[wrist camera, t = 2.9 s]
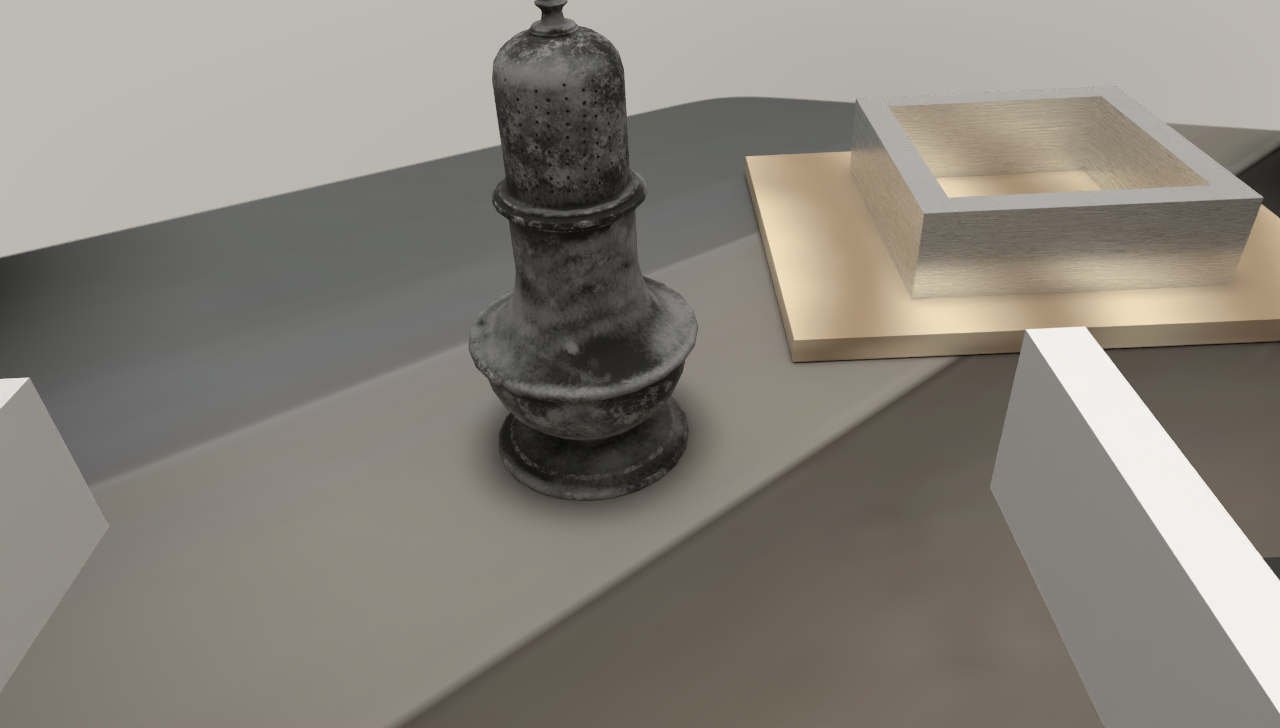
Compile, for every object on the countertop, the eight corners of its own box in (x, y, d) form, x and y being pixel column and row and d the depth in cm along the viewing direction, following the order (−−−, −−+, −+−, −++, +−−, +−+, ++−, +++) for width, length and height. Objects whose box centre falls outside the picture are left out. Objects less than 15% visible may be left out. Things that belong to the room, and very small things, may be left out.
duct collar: (911, 299, 29) (924, 213, 27) (849, 170, 37) (856, 98, 35) (1230, 285, 29) (1263, 197, 27) (1097, 159, 37) (1116, 86, 35)
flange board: (793, 362, 28) (794, 340, 27) (745, 173, 39) (745, 156, 39) (1391, 336, 27) (1403, 313, 27) (1167, 154, 39) (1173, 136, 38)
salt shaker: (568, 352, 29) (522, -58, 22) (735, 407, 26) (743, -40, 19) (444, 462, 25) (339, 2, 18) (626, 539, 22) (586, 34, 15)
